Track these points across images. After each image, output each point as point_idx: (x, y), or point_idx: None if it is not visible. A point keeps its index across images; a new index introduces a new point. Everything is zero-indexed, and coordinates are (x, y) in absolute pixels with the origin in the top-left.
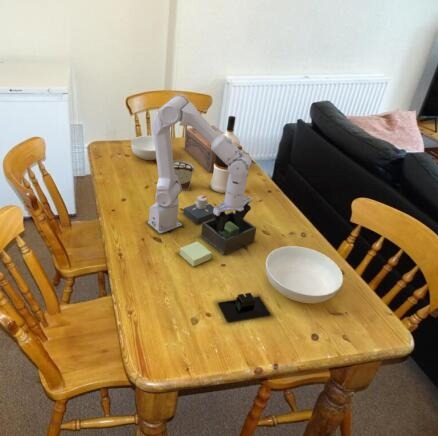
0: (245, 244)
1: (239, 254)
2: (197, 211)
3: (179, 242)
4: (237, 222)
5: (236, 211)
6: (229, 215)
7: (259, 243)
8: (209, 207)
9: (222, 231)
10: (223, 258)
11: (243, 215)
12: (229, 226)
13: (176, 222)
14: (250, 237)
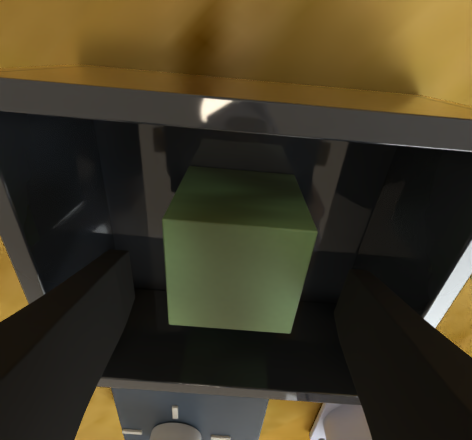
0: (175, 73)
1: (317, 9)
2: (222, 423)
3: (462, 326)
4: (124, 283)
5: (65, 436)
6: (111, 361)
7: (37, 8)
8: (143, 417)
9: (360, 272)
10: (464, 63)
11: (11, 357)
12: (235, 284)
13: (359, 414)
14: (100, 73)
